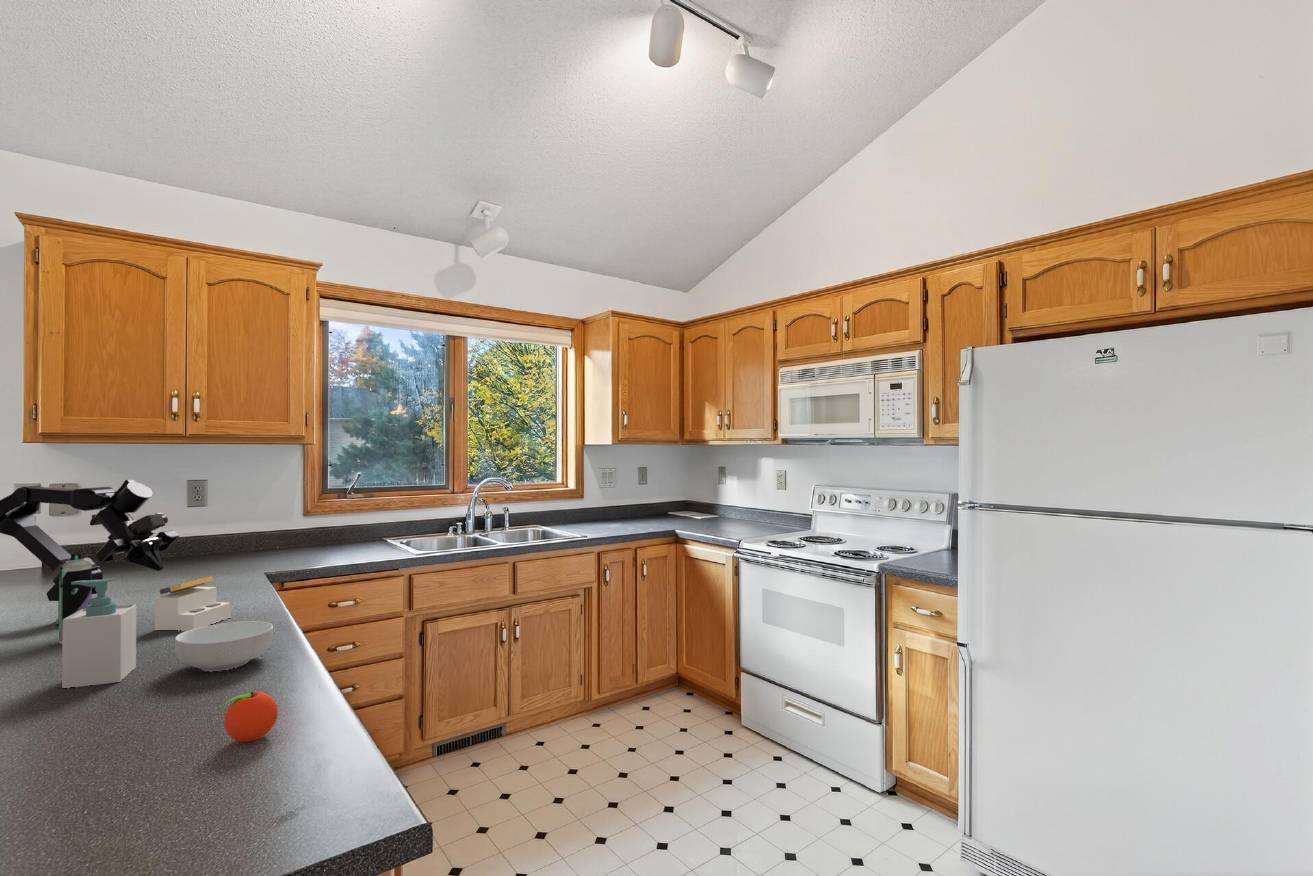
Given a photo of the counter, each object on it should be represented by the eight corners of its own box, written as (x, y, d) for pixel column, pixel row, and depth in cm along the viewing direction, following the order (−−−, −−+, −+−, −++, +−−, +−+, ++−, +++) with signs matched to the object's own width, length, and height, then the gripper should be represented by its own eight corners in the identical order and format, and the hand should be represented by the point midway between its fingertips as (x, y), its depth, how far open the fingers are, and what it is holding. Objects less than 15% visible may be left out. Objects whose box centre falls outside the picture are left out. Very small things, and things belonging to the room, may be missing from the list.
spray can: (71, 645, 143) (72, 556, 143) (52, 643, 144) (53, 555, 144) (97, 637, 148) (98, 552, 149) (78, 636, 150) (79, 551, 150)
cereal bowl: (284, 664, 130) (284, 629, 130) (184, 687, 118) (185, 649, 118) (259, 647, 141) (259, 615, 142) (166, 666, 129) (166, 631, 129)
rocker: (161, 596, 155) (159, 589, 155) (194, 587, 165) (192, 581, 165) (181, 590, 155) (180, 584, 155) (213, 582, 165) (212, 575, 165)
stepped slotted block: (155, 630, 154) (155, 597, 154) (194, 617, 166) (195, 586, 166) (193, 631, 153) (193, 598, 154) (230, 618, 165) (231, 587, 166)
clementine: (210, 755, 92) (210, 705, 92) (221, 735, 98) (221, 689, 98) (274, 744, 95) (274, 697, 95) (280, 726, 101) (281, 681, 101)
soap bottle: (80, 674, 125) (81, 576, 125) (136, 668, 128) (136, 573, 128) (60, 689, 117) (61, 585, 117) (120, 682, 120) (120, 581, 120)
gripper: (107, 506, 152) (150, 553, 151) (173, 500, 171) (211, 541, 170) (76, 539, 153) (119, 586, 152) (145, 529, 171) (183, 570, 170)
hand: (161, 569), depth 161 cm, fingers closed
